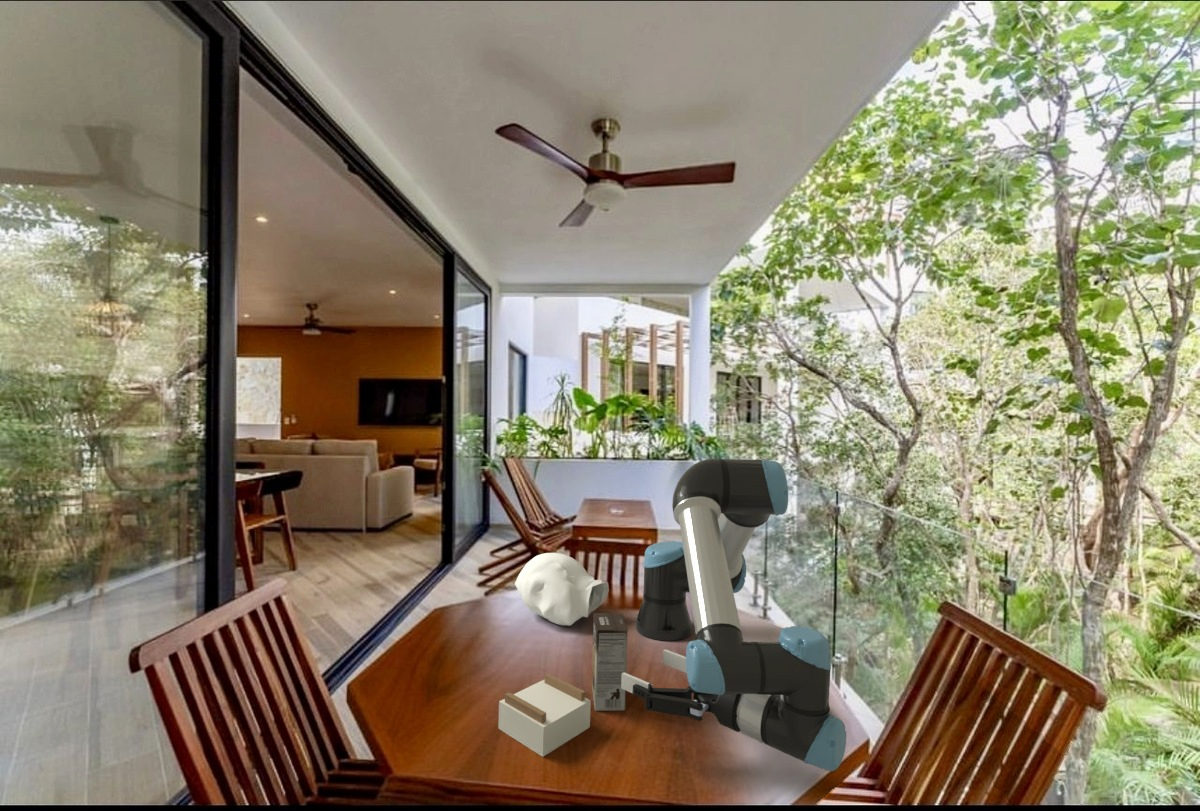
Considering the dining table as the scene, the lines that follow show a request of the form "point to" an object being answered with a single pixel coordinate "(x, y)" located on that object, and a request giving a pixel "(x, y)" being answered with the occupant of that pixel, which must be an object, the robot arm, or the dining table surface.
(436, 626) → the dining table surface
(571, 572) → the head sculpture
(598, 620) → the coffee box
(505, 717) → the plinth
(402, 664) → the dining table surface
